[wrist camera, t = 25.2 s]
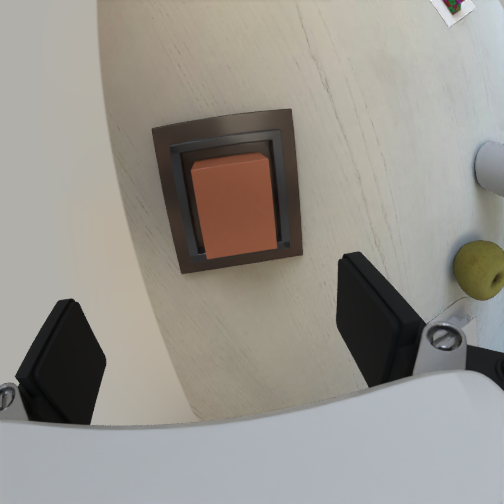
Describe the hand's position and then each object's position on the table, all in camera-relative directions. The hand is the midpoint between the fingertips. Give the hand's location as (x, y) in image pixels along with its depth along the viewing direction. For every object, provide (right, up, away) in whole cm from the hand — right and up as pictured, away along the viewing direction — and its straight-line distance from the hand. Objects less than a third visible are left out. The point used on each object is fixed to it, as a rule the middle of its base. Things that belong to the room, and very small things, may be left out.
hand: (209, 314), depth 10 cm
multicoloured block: (+24, +33, +10) cm, 42 cm away
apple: (+30, +2, +25) cm, 39 cm away
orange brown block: (0, +7, +17) cm, 18 cm away
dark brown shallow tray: (0, +8, +18) cm, 19 cm away
